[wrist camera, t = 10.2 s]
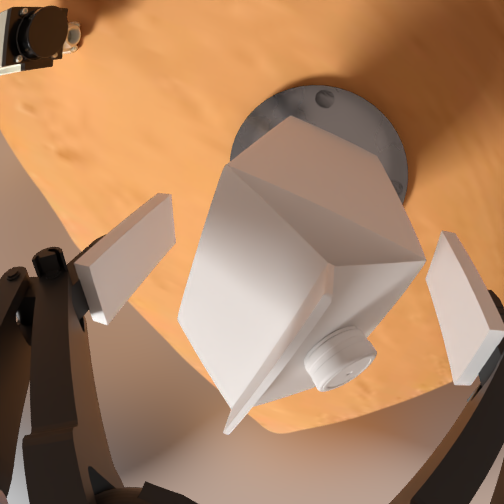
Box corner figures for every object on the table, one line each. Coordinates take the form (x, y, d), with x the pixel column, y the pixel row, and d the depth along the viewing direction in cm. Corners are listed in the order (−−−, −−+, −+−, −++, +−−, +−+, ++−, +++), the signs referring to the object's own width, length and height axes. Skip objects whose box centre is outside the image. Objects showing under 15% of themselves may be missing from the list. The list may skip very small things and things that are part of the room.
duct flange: (235, 80, 23) (230, 80, 22) (416, 100, 20) (420, 101, 19) (233, 237, 30) (229, 243, 29) (386, 260, 27) (387, 267, 26)
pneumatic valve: (36, 26, 22) (-52, 36, 12) (113, 10, 21) (10, 2, 11) (32, 71, 25) (-55, 92, 15) (106, 64, 24) (3, 77, 14)
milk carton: (257, 195, 26) (131, 391, 10) (290, 114, 22) (158, 217, 6) (337, 232, 26) (315, 463, 10) (378, 155, 22) (460, 353, 6)
